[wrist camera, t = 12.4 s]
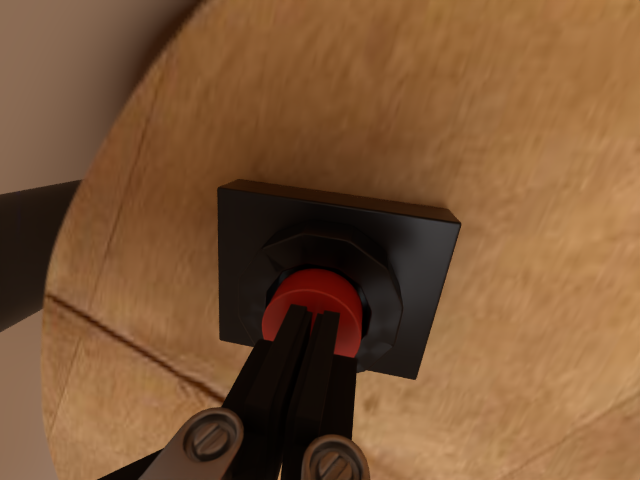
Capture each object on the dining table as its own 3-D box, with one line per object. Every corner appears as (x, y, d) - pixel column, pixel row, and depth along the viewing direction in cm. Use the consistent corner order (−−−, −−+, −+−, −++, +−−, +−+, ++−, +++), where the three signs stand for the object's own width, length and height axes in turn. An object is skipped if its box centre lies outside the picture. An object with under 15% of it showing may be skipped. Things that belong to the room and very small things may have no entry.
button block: (236, 316, 18) (200, 366, 14) (237, 178, 15) (193, 196, 11) (410, 350, 17) (421, 414, 13) (449, 208, 14) (477, 239, 10)
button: (272, 335, 13) (259, 363, 12) (277, 260, 12) (263, 281, 10) (355, 351, 13) (352, 383, 11) (369, 275, 12) (369, 300, 10)
